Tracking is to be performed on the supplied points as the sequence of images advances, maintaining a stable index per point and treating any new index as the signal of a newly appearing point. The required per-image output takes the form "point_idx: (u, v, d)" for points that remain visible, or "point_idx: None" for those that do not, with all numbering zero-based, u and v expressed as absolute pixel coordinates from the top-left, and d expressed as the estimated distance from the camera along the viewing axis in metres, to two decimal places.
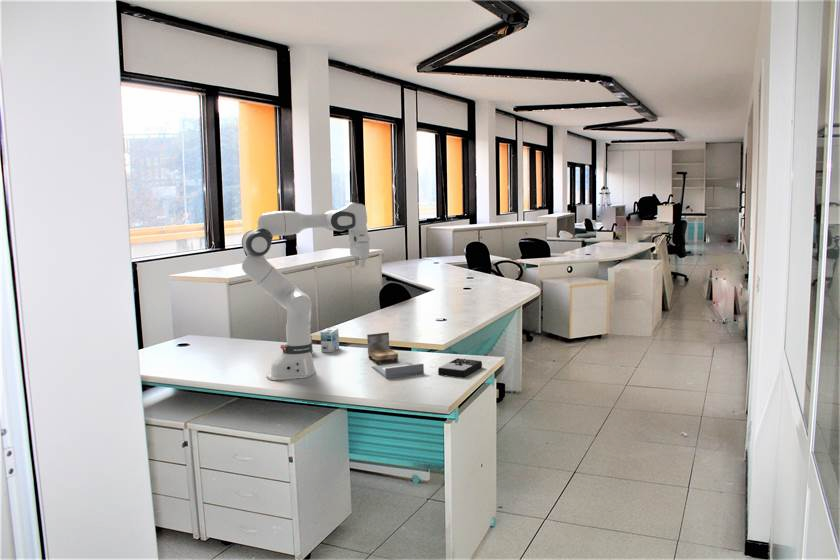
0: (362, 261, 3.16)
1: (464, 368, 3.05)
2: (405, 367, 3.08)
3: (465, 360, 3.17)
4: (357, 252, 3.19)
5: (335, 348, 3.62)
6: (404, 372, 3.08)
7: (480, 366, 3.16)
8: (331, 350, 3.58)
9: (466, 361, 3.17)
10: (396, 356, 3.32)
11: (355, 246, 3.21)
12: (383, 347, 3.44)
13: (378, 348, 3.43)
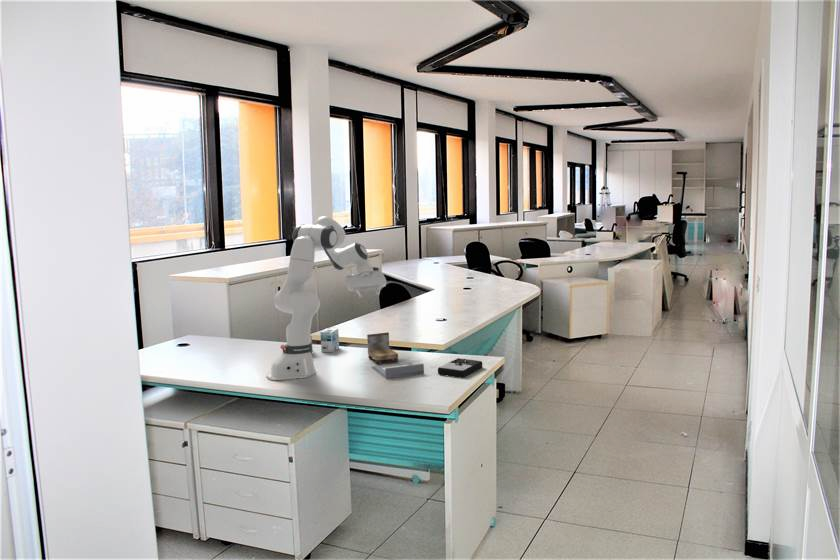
0: None
1: (464, 368, 3.05)
2: (405, 367, 3.08)
3: (465, 360, 3.17)
4: (372, 281, 3.57)
5: (335, 348, 3.62)
6: (404, 372, 3.08)
7: (480, 366, 3.16)
8: (331, 350, 3.58)
9: (466, 361, 3.17)
10: (396, 356, 3.32)
11: (365, 278, 3.58)
12: (383, 347, 3.44)
13: (378, 348, 3.43)
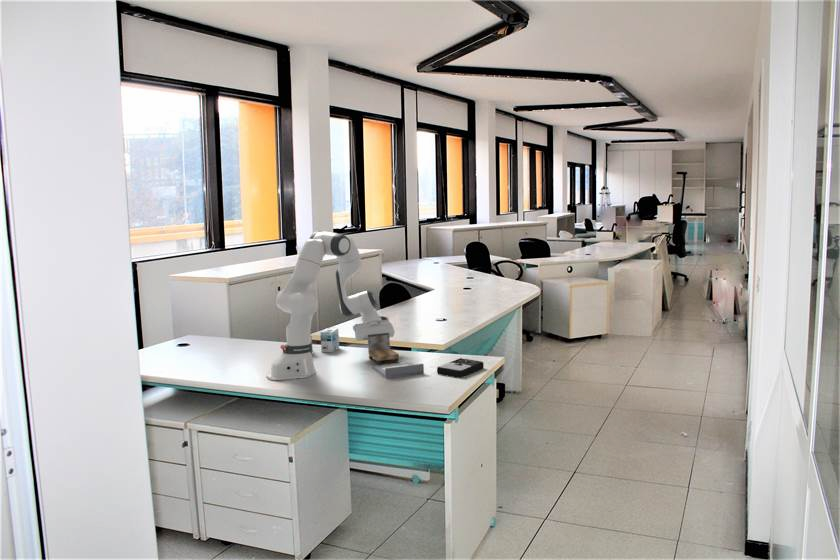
0: None
1: (462, 368, 3.05)
2: (405, 367, 3.08)
3: (466, 360, 3.16)
4: (380, 330, 3.47)
5: (335, 348, 3.62)
6: (404, 372, 3.08)
7: (481, 366, 3.15)
8: (331, 350, 3.58)
9: (467, 361, 3.17)
10: (397, 356, 3.32)
11: (373, 327, 3.47)
12: (384, 347, 3.43)
13: (379, 348, 3.42)
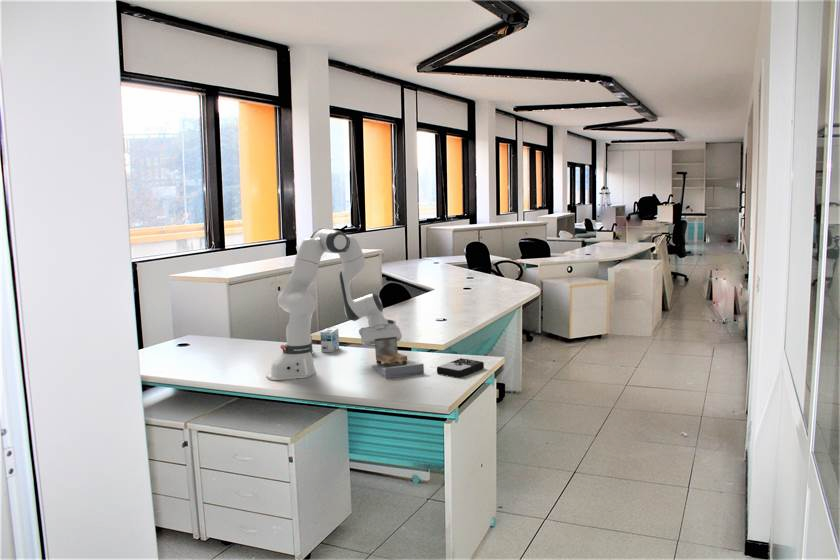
0: None
1: (461, 368, 3.05)
2: (405, 367, 3.08)
3: (466, 360, 3.16)
4: (387, 334, 3.37)
5: (335, 348, 3.62)
6: (404, 372, 3.08)
7: (481, 367, 3.15)
8: (331, 350, 3.58)
9: (467, 361, 3.17)
10: (405, 358, 3.22)
11: (380, 331, 3.37)
12: (391, 352, 3.33)
13: (386, 353, 3.32)
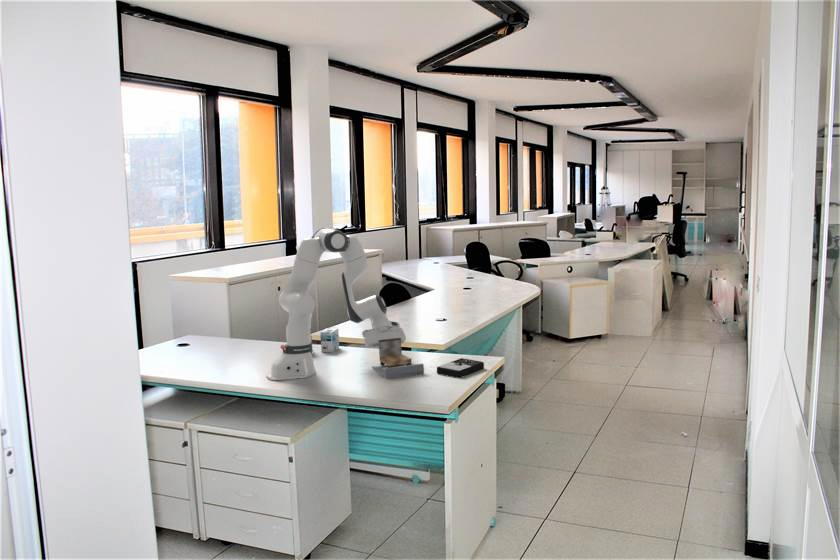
0: None
1: (461, 368, 3.05)
2: (405, 367, 3.08)
3: (466, 360, 3.16)
4: (391, 336, 3.32)
5: (335, 348, 3.62)
6: (404, 372, 3.08)
7: (481, 367, 3.15)
8: (331, 350, 3.58)
9: (468, 361, 3.17)
10: (409, 361, 3.17)
11: (383, 333, 3.32)
12: (395, 353, 3.28)
13: (390, 354, 3.27)
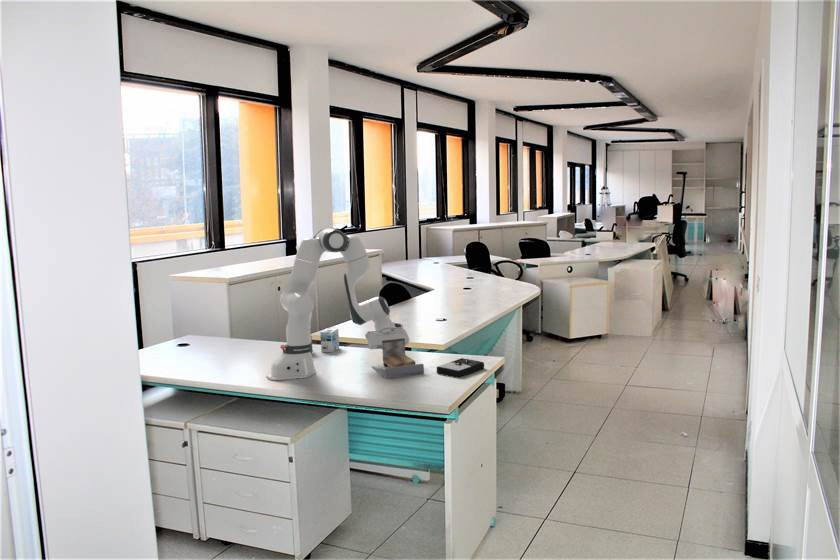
0: None
1: (461, 368, 3.05)
2: (405, 367, 3.08)
3: (467, 360, 3.16)
4: (394, 338, 3.27)
5: (335, 348, 3.62)
6: (404, 372, 3.08)
7: (481, 367, 3.15)
8: (331, 350, 3.58)
9: (468, 361, 3.16)
10: (413, 364, 3.12)
11: (387, 335, 3.28)
12: (399, 354, 3.23)
13: (393, 355, 3.23)
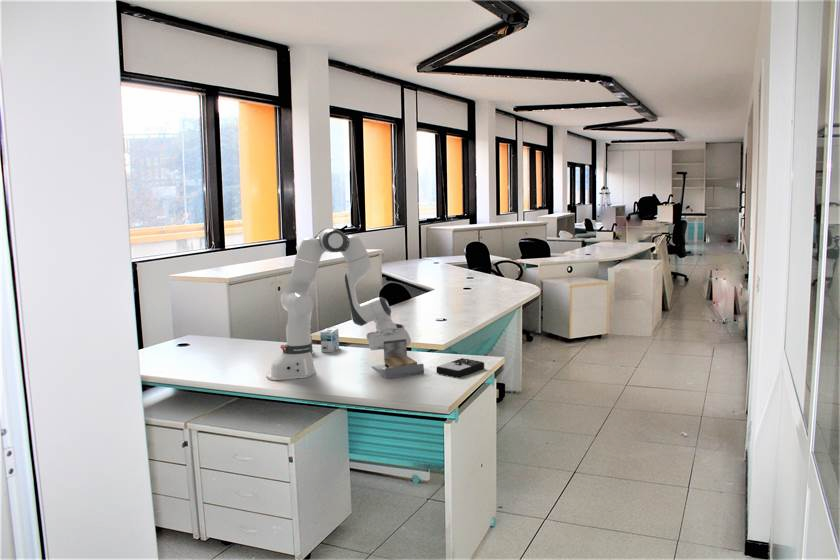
0: None
1: (461, 368, 3.05)
2: (405, 367, 3.08)
3: (467, 360, 3.16)
4: (396, 339, 3.25)
5: (335, 348, 3.62)
6: (404, 372, 3.08)
7: (481, 367, 3.14)
8: (331, 350, 3.58)
9: (468, 361, 3.16)
10: None
11: (388, 336, 3.26)
12: (400, 355, 3.22)
13: (395, 356, 3.21)
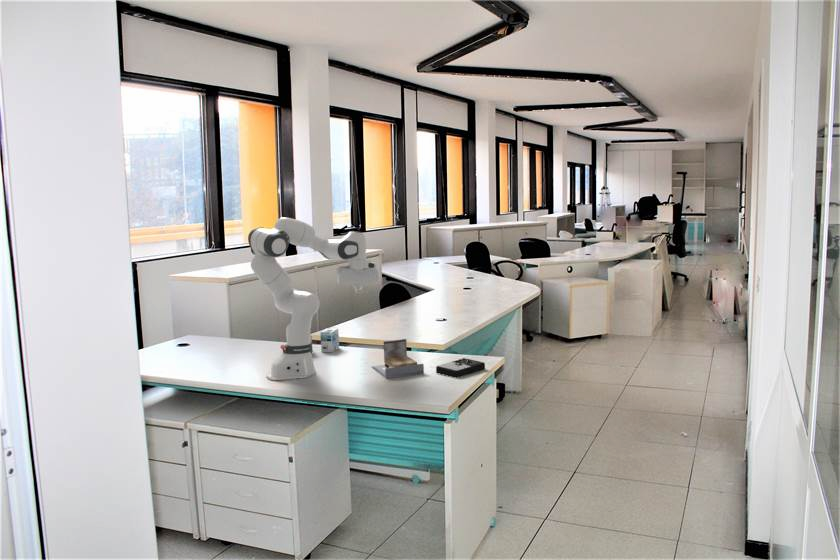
0: None
1: (459, 368, 3.05)
2: (405, 367, 3.08)
3: (467, 360, 3.16)
4: (364, 278, 3.31)
5: (335, 348, 3.62)
6: (404, 372, 3.08)
7: (481, 367, 3.14)
8: (331, 350, 3.58)
9: (469, 361, 3.16)
10: None
11: (358, 274, 3.30)
12: (400, 355, 3.22)
13: (395, 356, 3.21)
